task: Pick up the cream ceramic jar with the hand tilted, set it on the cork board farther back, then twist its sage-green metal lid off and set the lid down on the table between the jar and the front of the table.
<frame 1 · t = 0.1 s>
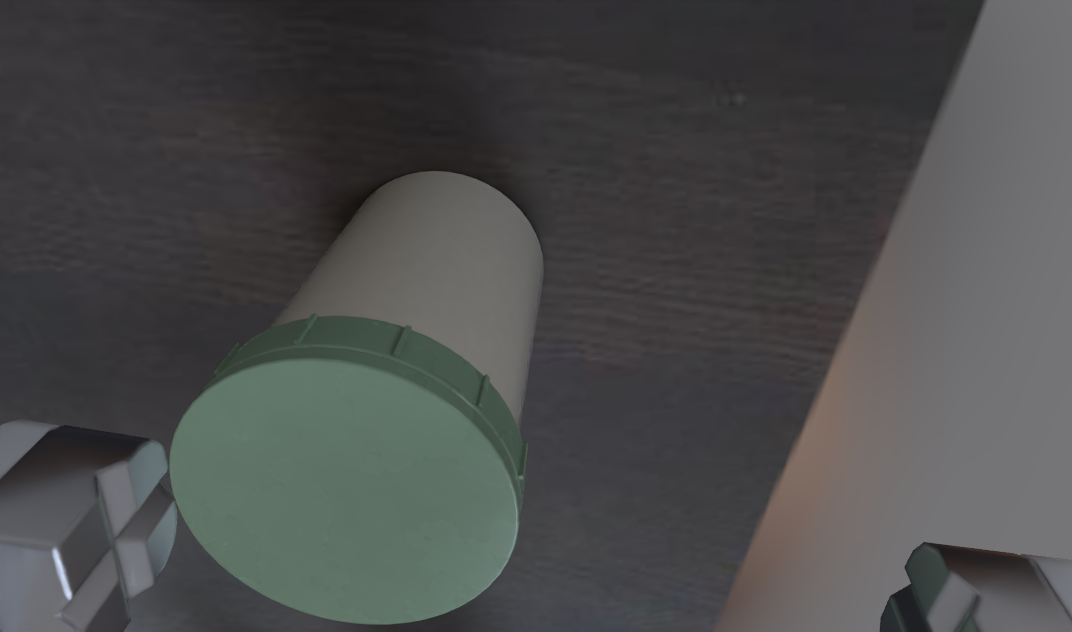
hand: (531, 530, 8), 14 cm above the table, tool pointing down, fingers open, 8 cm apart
lid: (349, 492, 14), point 10 cm above the table, screwed on, not yet turned
jar: (444, 265, 23), on the table
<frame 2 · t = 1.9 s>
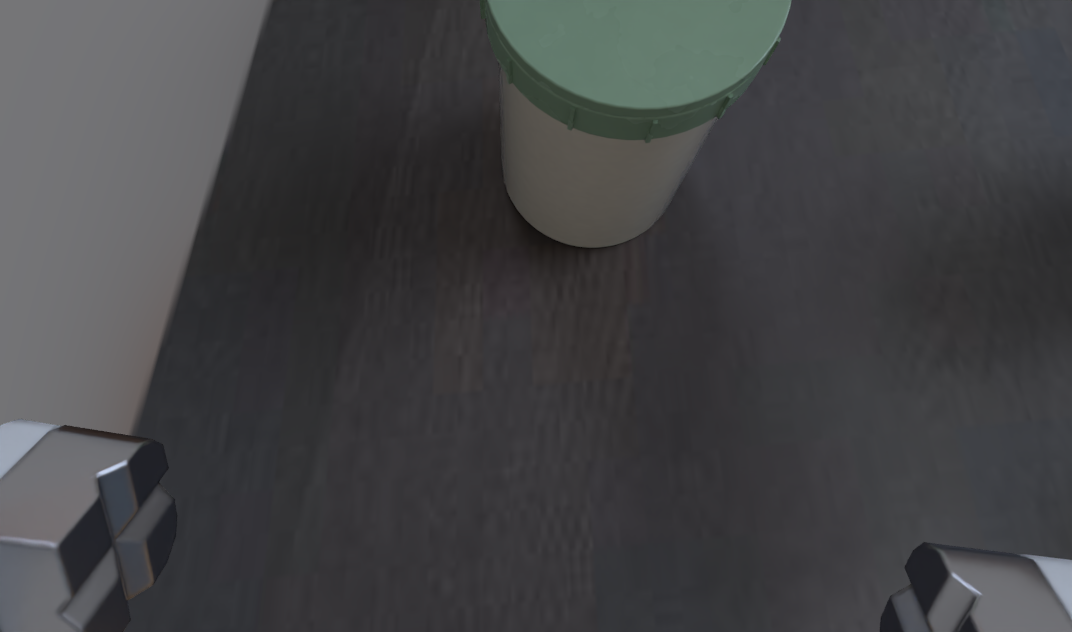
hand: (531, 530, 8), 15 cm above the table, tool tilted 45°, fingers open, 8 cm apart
jar: (590, 163, 26), on the table
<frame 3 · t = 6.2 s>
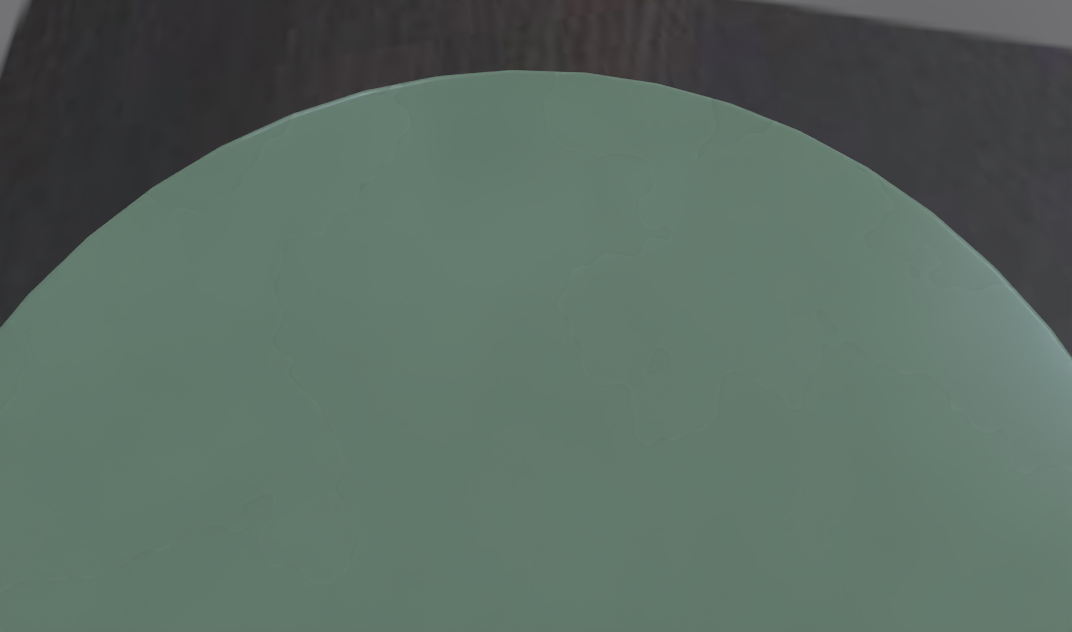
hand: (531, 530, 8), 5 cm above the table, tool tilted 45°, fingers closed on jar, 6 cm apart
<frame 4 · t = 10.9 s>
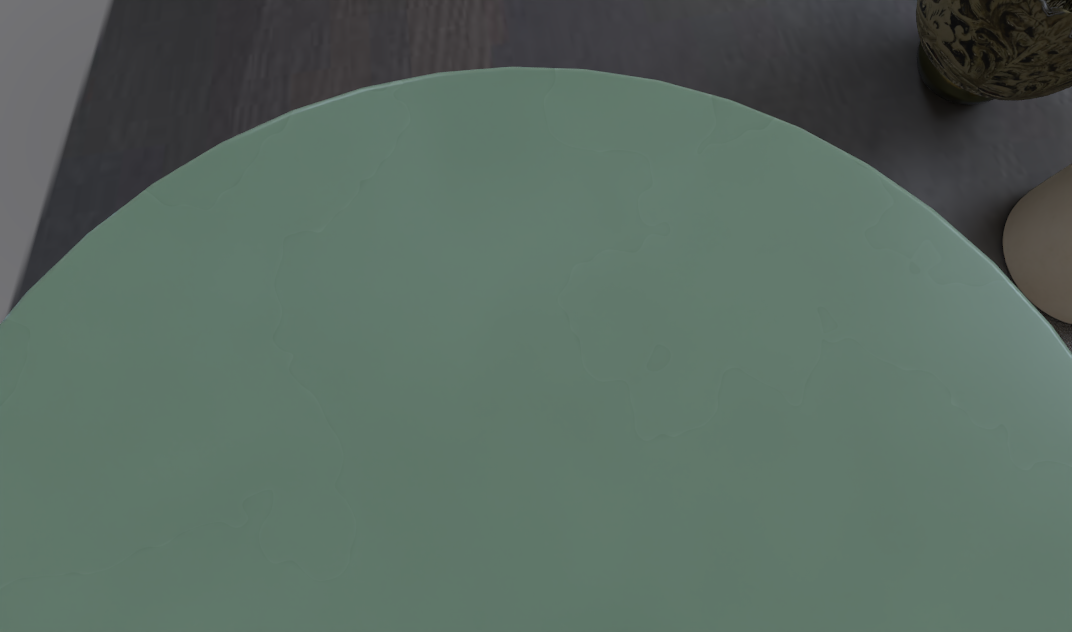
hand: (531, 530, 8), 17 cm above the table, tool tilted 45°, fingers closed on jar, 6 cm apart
cup: (953, 72, 29), on the table
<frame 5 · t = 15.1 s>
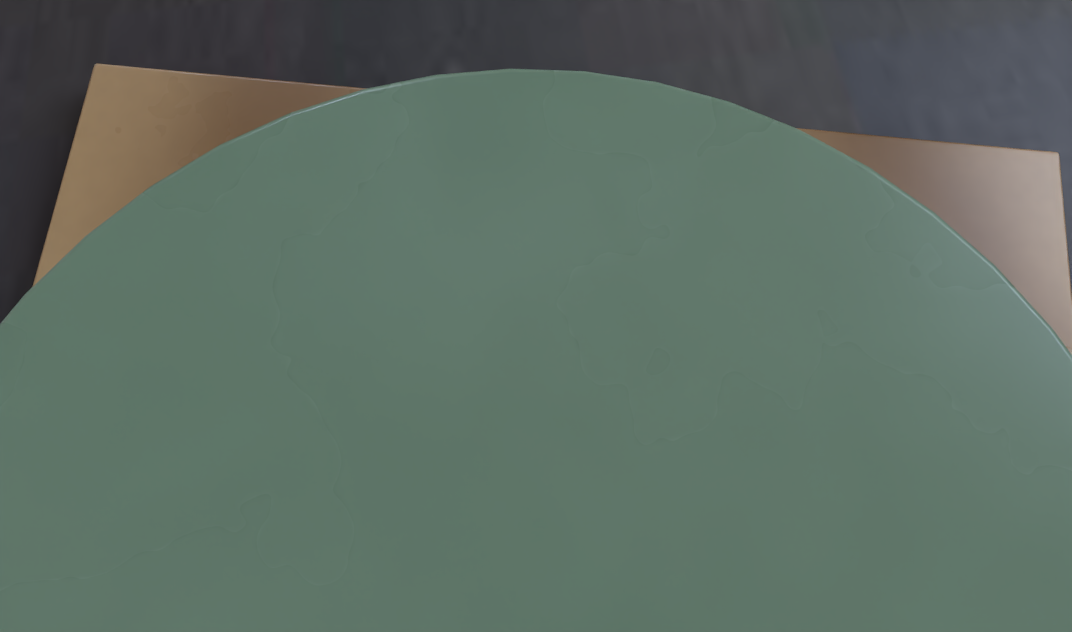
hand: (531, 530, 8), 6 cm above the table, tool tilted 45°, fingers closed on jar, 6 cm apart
cork board: (529, 560, 14), on the table
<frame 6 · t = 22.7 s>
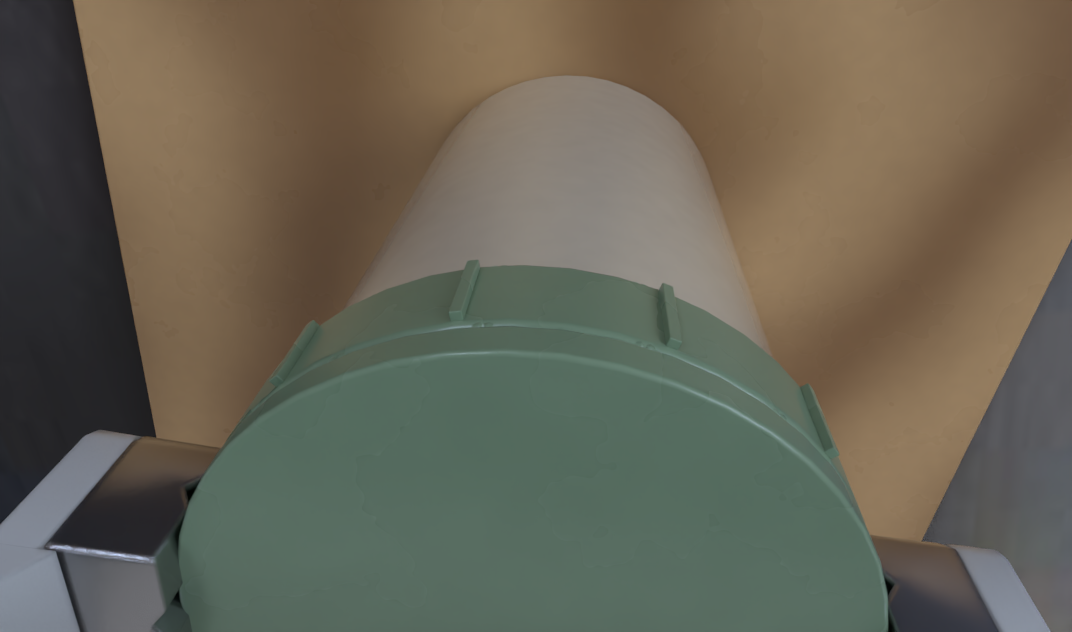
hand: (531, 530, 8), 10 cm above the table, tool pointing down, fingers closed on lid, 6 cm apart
cork board: (572, 206, 17), on the table
lid: (525, 611, 7), point 11 cm above the table, screwed on, not yet turned, touching gripper
jar: (567, 221, 16), point 1 cm above the table, touching cork board
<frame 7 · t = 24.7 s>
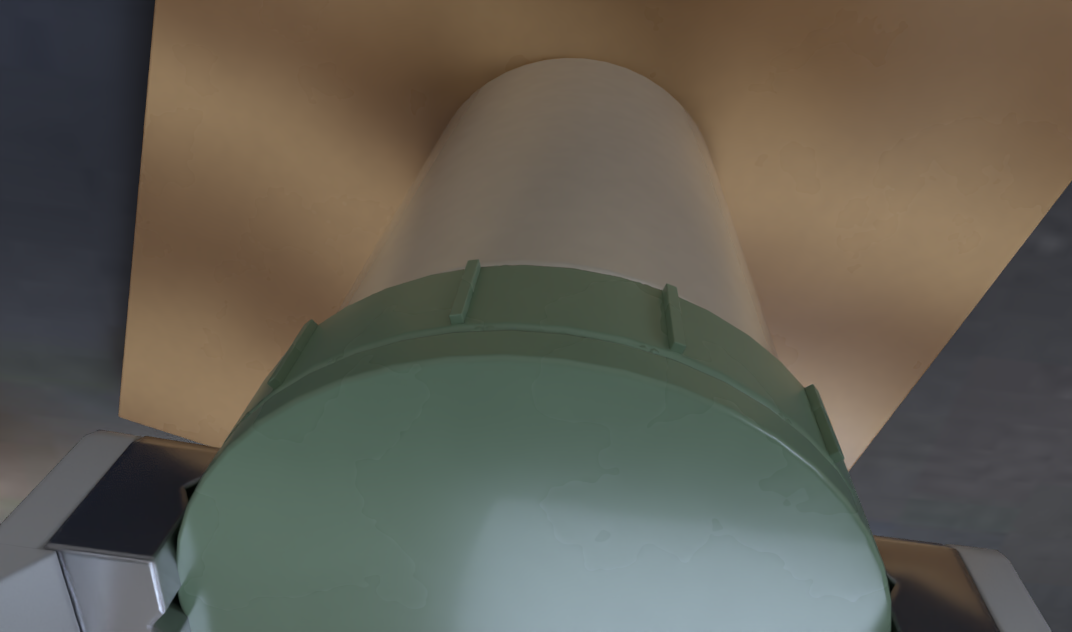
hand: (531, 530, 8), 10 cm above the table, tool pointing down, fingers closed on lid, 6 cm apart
cork board: (571, 191, 17), on the table
lid: (526, 611, 7), point 11 cm above the table, turned 104° so far, risen 0.3 cm, still on its thread, touching gripper
jar: (570, 203, 16), point 1 cm above the table, touching cork board
when the fingers open (0 cm above the table, at t = 34.5 s): lid stays where it is, point 1 cm above the table.
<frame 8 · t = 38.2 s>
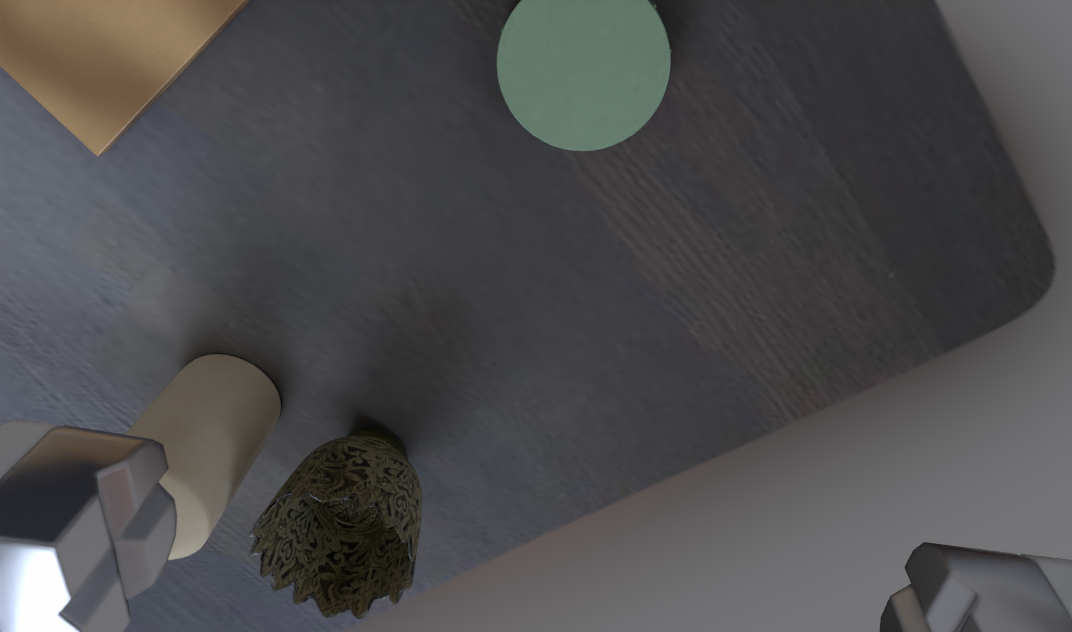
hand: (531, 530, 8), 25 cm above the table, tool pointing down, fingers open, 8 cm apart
candle: (232, 394, 40), on the table
lid: (583, 64, 29), point 1 cm above the table, off its thread
cup: (378, 445, 41), on the table
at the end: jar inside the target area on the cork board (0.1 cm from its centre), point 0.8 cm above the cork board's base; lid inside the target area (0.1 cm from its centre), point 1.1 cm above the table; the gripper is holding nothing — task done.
